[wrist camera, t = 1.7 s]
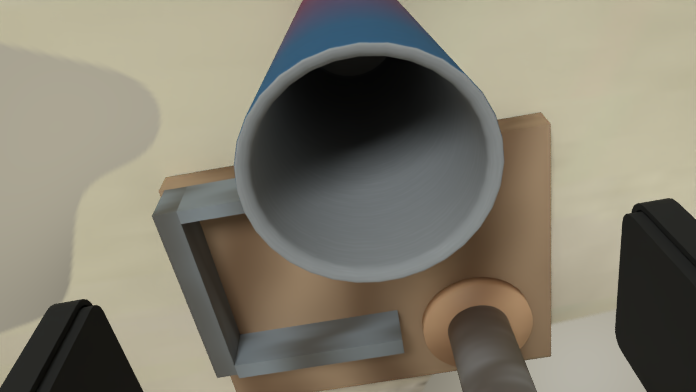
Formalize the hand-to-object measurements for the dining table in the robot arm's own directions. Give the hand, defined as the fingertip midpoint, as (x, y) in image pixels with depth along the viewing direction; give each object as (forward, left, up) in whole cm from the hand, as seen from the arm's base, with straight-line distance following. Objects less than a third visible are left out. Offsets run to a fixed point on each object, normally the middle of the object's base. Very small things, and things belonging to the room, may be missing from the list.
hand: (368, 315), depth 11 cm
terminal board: (+1, +14, -20) cm, 24 cm away
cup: (0, 0, -20) cm, 20 cm away
